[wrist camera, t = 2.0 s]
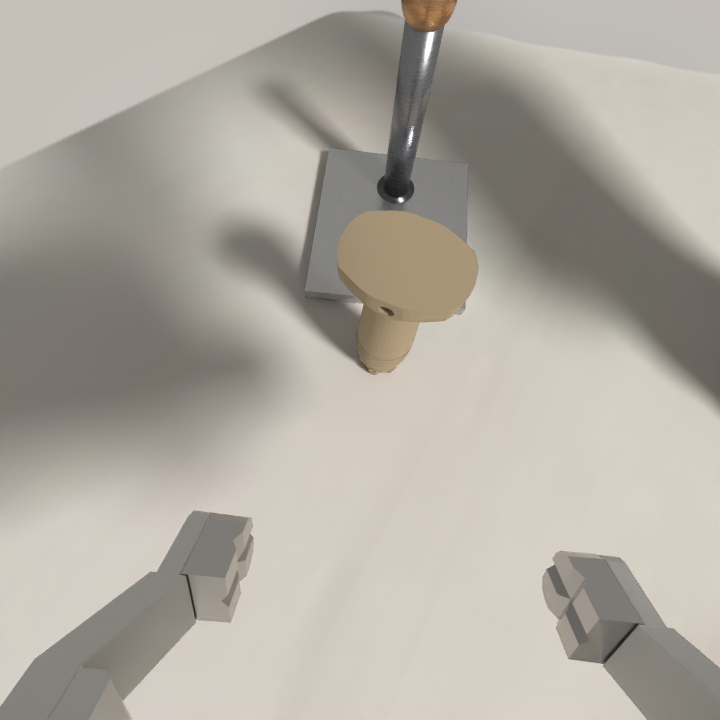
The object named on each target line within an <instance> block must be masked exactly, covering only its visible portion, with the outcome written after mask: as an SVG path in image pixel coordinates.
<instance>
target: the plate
mask: <svg viewBox="0 0 720 720" xmlns="http://www.w3.org/2000/svg"><path fill="white" fill-rule="evenodd" d="M386 162H387V155H386V154H377V153H368V152H360V151H351V150H343V149H334V148H329V152H328V157H327V163H326V169H325V175H324V181H323V186H322V192H321V198H320V204H319V210H318V215H317V221H316V227H315V233H314V239H313V244H312V250H311V256H310V262H309V268H308V273H307V279H306V285H305V294H306V297H311V298H320V299H329V300H338V301H346V302H355V303H362V302H361V301H360V300H359V299H358V298H357V297H355V296H354V295H353V294H352V293H351V292H350V290H349V289H348V288H347V287H346V286H345V285H344V284H343V283H342V281H341V280H340V279H339V274H338V268H337V248H338V243H339V240H340V238H341V235H342V233H343V232H344V230H345V229H346V227H347V226H348V224H349V223H350V222H351V221H352V220H353V219H354V218H356V217H357V216H358V215H360V214H362V213H364V212H366V211H404V212H409V213H412V214H416V215H418V216H421V217H424V218H427V219H429V220H432V221H435V222H437V223H439V224H441V225H443V226H445V227H447V228H448V229H449V230H451V231H452V232H454V233H455V234H456V235H457V236H458V237H459V238H460V239H462V240H463V241H464V242H465V243H466V244H467V196H468V164H463V163H455V162H446V161H437V160H429V159H420V158H415V160H414V165H413V169H412V174H411V178H410V183H409V187H408V191H407V193H406V194H405V195H404V196H402V197H399V198H394V197H390V196H388V195H387V194H386V193H385V191H384V189H383V185H384V177H385V170H386ZM464 310H465V303H464V304H463V305H462V307H461V308H460V309H459V310H458V311H457V312H456V313H455V314H460V315H461V314H462V313H463V311H464Z"/></svg>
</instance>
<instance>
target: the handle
mask: <svg viewBox="0 0 720 720" xmlns="http://www.w3.org/2000/svg"><path fill="white" fill-rule="evenodd" d="M337 268H338V274H339V279H340V280H341V281H342V283H343V284H344V285H345V286H346V287H347V288H348V289H349V290H350V292H351V293H352V294H353V295H354V296H355V297H357V298H358V299H359V300H360V301H361V302H362V303H363V304H364V306H363V310H362V314H361V317H360V321H359V325H358V331H357V347H358V352H359V359H360V361H361V362H363V363H364V365H366V367H367V368H368V372H369V373H370V374H373V375H376V374H378V373H381V372H388V373H390V372H392V371H393V370H394V369H395V368H396V366H397V365H398V364H399V363H400V362H401V361H402V360H403V359H404V358H405V356H406V355H407V354H408V352H409V350H410V348H411V346H412V344H413V341H414V338H415V335H416V332H417V329H418V326H419V323H420V322H437V321H445V320H447V319H448V318H450V317H451V316H453V315H454V314H455V313H456V312H457V311H458V310H459V309H460V308H461V307H462V305H463V304H464V303H465V301H466V300H467V298H468V297H469V296H470V294H471V292H472V290H473V288H474V286H475V283H476V279H477V275H478V263H477V258H476V255H475V252H474V251H473V250H472V249H471V248H470V247H469V246H468V245H467V244H466V243H465V242H464V241H463V240H462V239H460V238H459V237H458V236H457V235H456V234H455V233H454V232H452V231H451V230H449V229H448V228H447V227H445V226H443V225H441V224H439V223H437V222H435V221H432V220H429V219H427V218H424V217H421V216H418V215H416V214H412V213H409V212H404V211H366V212H364V213H362V214H360V215H358V216H357V217H356V218H354V219H353V220H352V221H351V222H350V223H349V224H348V226H347V227H346V229H345V230H344V232H343V233H342V235H341V238H340V240H339V243H338V248H337Z"/></svg>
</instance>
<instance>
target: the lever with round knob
mask: <svg viewBox="0 0 720 720" xmlns="http://www.w3.org/2000/svg"><path fill="white" fill-rule="evenodd" d="M456 2H457V0H401V4H402V10H403V15H404V17H405V25H404V33H403V41H402V48H401V56H400V63H399V71H398V79H397V86H396V94H395V101H394V109H393V117H392V124H391V132H390V139H389V147H388V155H387V162H386V170H385V177H384V185H383V189H384V191H385V193H386V194H387V195H388V196H390V197H394V198H399V197H402V196H404V195H405V194H406V193H407V191H408V187H409V183H410V178H411V174H412V169H413V165H414V160H415V156H416V151H417V147H418V142H419V138H420V133H421V129H422V124H423V120H424V115H425V111H426V106H427V102H428V97H429V92H430V88H431V83H432V79H433V74H434V70H435V65H436V61H437V56H438V52H439V47H440V43H441V38H442V34H443V29H444V25H445V24H446V23H447V22H448V20H449V19H450V17H451V15H452V13H453V11H454V9H455V6H456Z"/></svg>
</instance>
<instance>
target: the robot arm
mask: <svg viewBox="0 0 720 720" xmlns="http://www.w3.org/2000/svg"><path fill="white" fill-rule="evenodd" d="M252 527H253V524H252V518H249V517H241V516H234V515H226V514H218V513H211V512H202V511H193V512H192V513H191V514H190V515H189V516H188V518H187V519H186V521H185V523H184V525H183V526H182V528H181V530H180V532H179V534H178V535H177V537H176V539H175V541H174V542H173V544H172V546H171V548H170V550H169V551H168V553H167V555H166V557H165V558H164V560H163V562H162V564H161V565H160V567H159V569H158V571H157V572H150V573H148V574H147V575H146V576H144V577H143V578H142V579H140V580H139V581H138V582H136V583H135V584H134V585H132V586H131V587H130V588H128V589H127V590H126V591H124V592H123V593H122V594H120V595H119V596H118V597H116V598H115V599H114V600H112V601H111V602H110V603H108V604H107V605H106V606H104V607H103V608H102V609H101V610H99V611H98V612H97V613H95V614H94V615H93V616H91V617H90V618H89V619H87V620H86V621H85V622H83V623H82V624H81V625H79V626H78V627H77V628H75V629H74V630H73V631H71V632H70V633H69V634H67V635H66V636H65V637H63V638H62V639H61V640H59V641H58V642H57V643H55V644H54V645H53V646H51V647H50V648H49V649H47V650H46V651H45V652H43V653H42V654H41V655H39V656H38V657H37V658H36V659H34V661H33V662H32V663H31V665H30V666H29V668H28V669H27V670H26V672H25V673H24V674H23V676H22V677H21V679H20V680H19V681H18V683H17V684H16V686H15V687H14V688H13V690H12V691H11V693H10V694H9V695H8V697H7V698H6V700H5V701H4V702H3V704H2V705H1V707H0V720H132V718H131V716H130V714H129V712H128V710H127V708H126V706H125V704H124V702H123V700H124V699H125V698H126V697H127V696H128V695H129V694H130V693H131V691H132V690H133V689H134V688H135V687H136V686H137V685H138V684H139V683H140V682H141V681H142V680H143V679H144V677H145V676H146V675H147V674H148V673H149V672H150V671H151V670H152V669H153V668H154V667H155V666H156V665H157V664H158V662H159V661H160V660H161V659H162V658H163V657H164V656H165V655H166V654H167V653H168V652H169V651H170V650H171V648H172V647H173V646H174V645H175V644H176V643H177V642H178V641H179V640H180V639H181V638H182V637H183V636H184V635H185V633H186V632H187V631H188V630H189V629H190V628H191V627H192V626H193V625H194V624H195V623H196V620H205V621H218V622H231V621H232V618H233V615H234V612H235V609H236V606H237V603H238V600H239V597H240V594H241V593H240V581H241V580H242V579H243V578H244V577H246V576H247V573H248V569H249V566H250V563H251V558H252V553H253V545H254V541H253V536H252V535H251V534H250V532H251V529H252ZM553 561H554V563H555V565H553V566H552V567H550V568H548V569H546V571H545V573H544V575H543V582H542V589H543V594H544V598H545V601H546V603H547V606H548V608H549V610H550V611H551V612H552V613H553V614H554V615H555V616H556V617H557V618H558V622H557V626H556V629H557V632H558V634H559V637H560V639H561V642H562V644H563V647H564V649H565V652H566V654H567V657H568V659H572V660H579V661H587V662H594V663H601V664H604V665H603V667H604V668H605V669H606V670H607V671H608V673H609V674H610V675H611V676H612V677H613V679H614V680H615V681H616V682H617V684H618V685H619V686H620V687H621V688H622V690H623V691H624V692H625V693H626V694H627V696H628V697H629V698H630V699H631V700H632V702H633V703H634V704H635V705H636V707H637V708H638V709H639V710H640V711H641V713H642V714H643V715H644V716H645V717H646V719H647V720H720V668H719V667H718V666H717V665H716V664H714V663H713V662H712V661H711V660H710V659H709V658H707V657H706V656H705V655H704V654H703V653H701V652H700V651H699V650H698V649H697V648H696V647H694V646H693V645H692V644H691V643H690V642H688V641H687V640H686V639H685V638H684V637H683V636H681V635H680V634H679V633H678V632H677V631H676V630H674V629H673V628H667V627H666V625H665V624H664V622H663V621H662V619H661V618H660V616H659V614H658V613H657V611H656V610H655V608H654V607H653V605H652V604H651V602H650V600H649V599H648V597H647V596H646V594H645V593H644V591H643V590H642V588H641V586H640V585H639V583H638V582H637V580H636V579H635V577H634V576H633V574H632V572H631V571H630V569H629V568H628V566H627V565H626V563H625V562H624V561H623V560H622V559H620V558H619V557H614V556H602V555H597V554H589V553H578V552H567V551H559V552H557V553H556V554H555V555H554V557H553Z"/></svg>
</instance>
